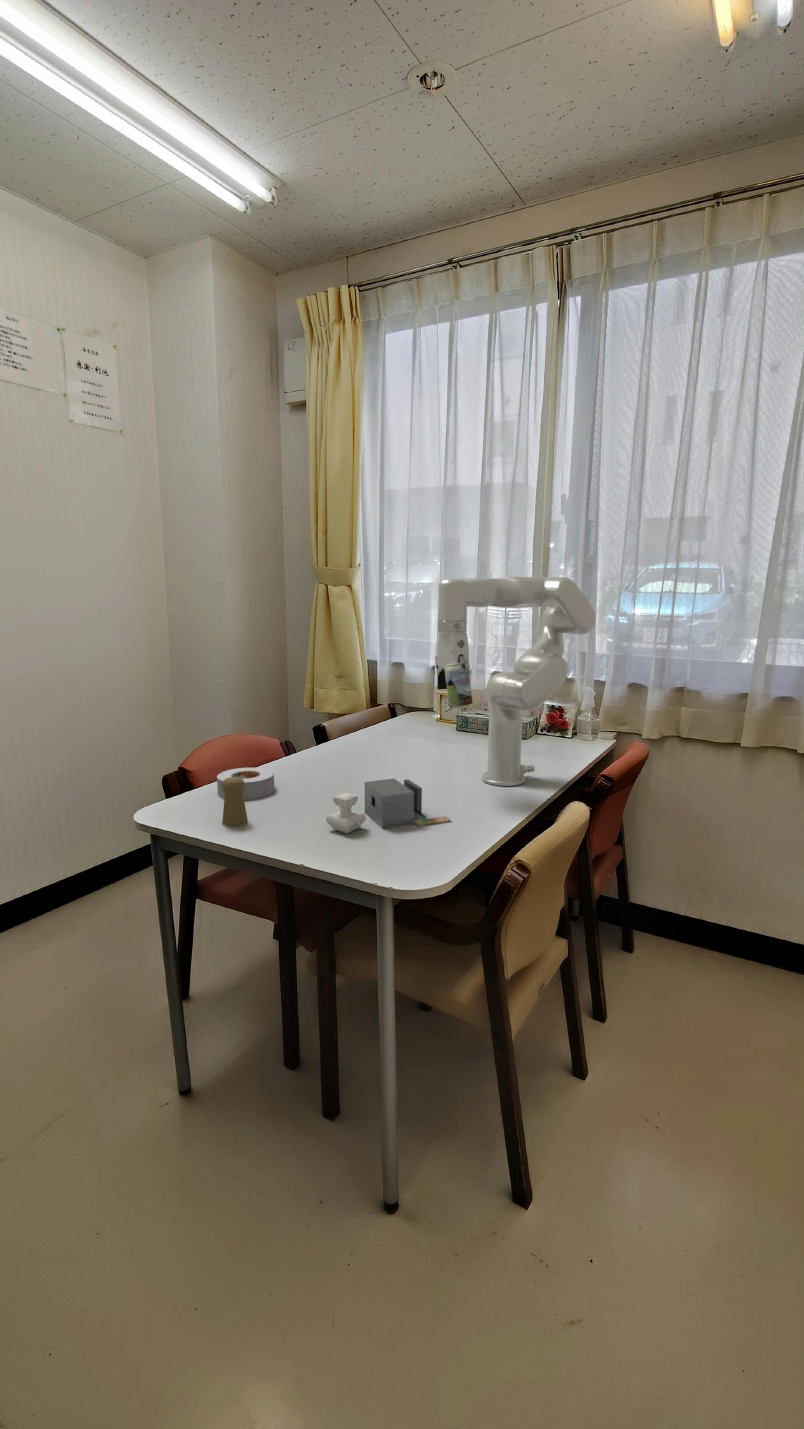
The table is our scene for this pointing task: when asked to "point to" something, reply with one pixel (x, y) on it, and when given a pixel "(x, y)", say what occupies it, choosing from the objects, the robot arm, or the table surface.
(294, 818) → the table surface
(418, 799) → the plunger
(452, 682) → the beverage can
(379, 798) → the block
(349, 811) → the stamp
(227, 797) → the cork
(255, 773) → the tape roll
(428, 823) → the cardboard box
